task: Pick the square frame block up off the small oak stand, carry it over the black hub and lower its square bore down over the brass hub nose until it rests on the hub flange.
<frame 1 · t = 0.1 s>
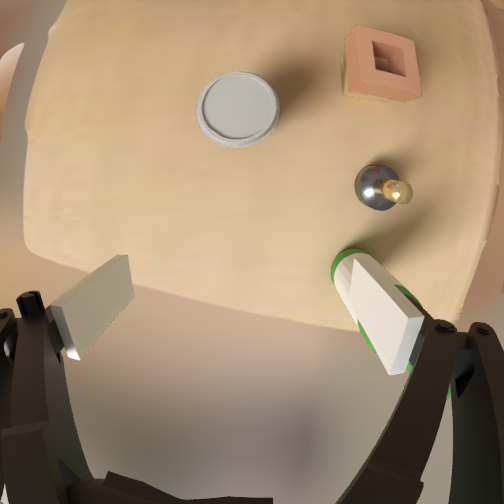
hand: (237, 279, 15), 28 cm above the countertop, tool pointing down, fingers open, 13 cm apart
wine bottle: (350, 267, 44), on the countertop
stand: (361, 80, 34), on the countertop
square frame block: (375, 69, 29), point 6 cm above the countertop, touching stand
disposable coffee cup: (243, 123, 38), on the countertop
hub: (374, 186, 40), on the countertop
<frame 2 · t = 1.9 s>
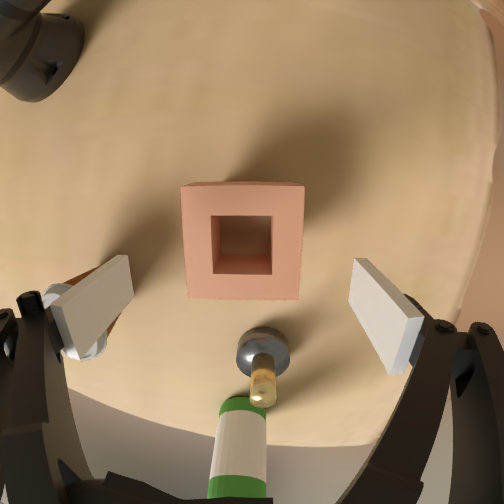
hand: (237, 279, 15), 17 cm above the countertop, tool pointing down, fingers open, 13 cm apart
wine bottle: (243, 407, 41), on the countertop
stand: (248, 218, 31), on the countertop
square frame block: (245, 230, 25), point 6 cm above the countertop, touching stand
disposable coffee cup: (113, 283, 34), on the countertop
hub: (262, 347, 36), on the countertop
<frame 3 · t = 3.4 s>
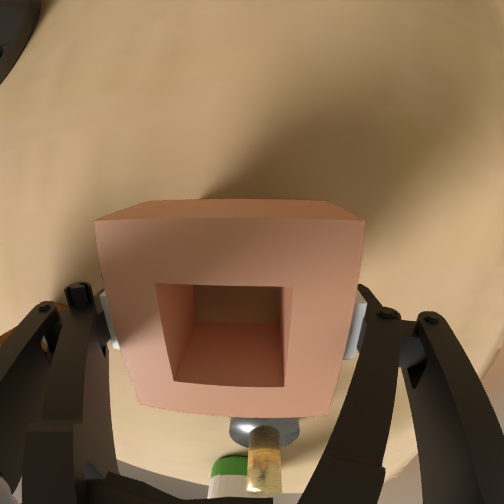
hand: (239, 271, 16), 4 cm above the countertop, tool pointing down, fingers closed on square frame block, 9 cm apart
wine bottle: (240, 463, 30), on the countertop
stand: (243, 251, 20), on the countertop
square frame block: (236, 285, 14), point 6 cm above the countertop, touching gripper, stand
hub: (264, 412, 25), on the countertop
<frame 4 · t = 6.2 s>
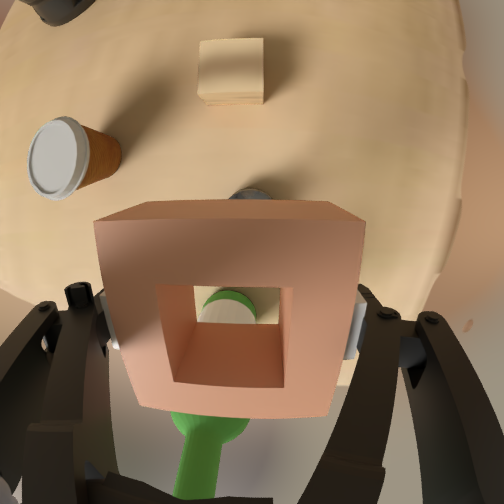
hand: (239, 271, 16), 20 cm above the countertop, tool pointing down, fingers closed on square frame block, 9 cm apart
wine bottle: (230, 310, 39), on the countertop
stand: (235, 80, 29), on the countertop
square frame block: (236, 286, 14), point 22 cm above the countertop, touching gripper
disposable coffee cup: (104, 157, 33), on the countertop
hub: (250, 215, 35), on the countertop
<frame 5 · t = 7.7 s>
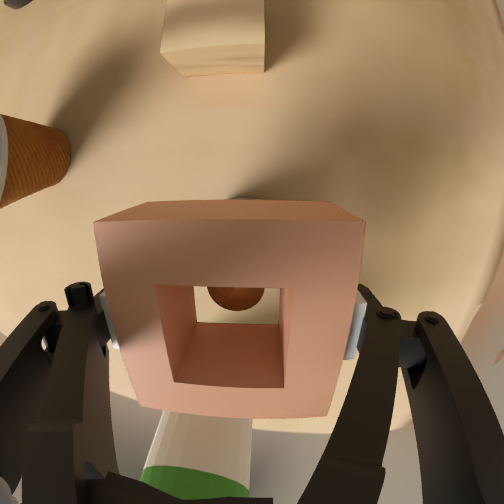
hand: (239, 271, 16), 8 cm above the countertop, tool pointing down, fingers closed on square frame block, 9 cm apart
wine bottle: (219, 360, 28), on the countertop
stand: (223, 41, 18), on the countertop
square frame block: (236, 286, 14), point 10 cm above the countertop, touching gripper
disposable coffee cup: (52, 157, 22), on the countertop
hub: (245, 237, 24), on the countertop
when the fingers open (3 cm above the countertop, at t = 9.1 s): square frame block drops 2 cm, resting on hub.
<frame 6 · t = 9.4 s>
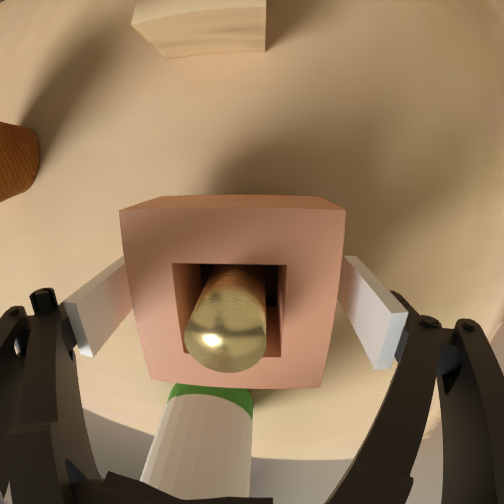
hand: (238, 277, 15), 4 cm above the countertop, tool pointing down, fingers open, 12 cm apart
wine bottle: (213, 392, 23), on the countertop
stand: (215, 16, 14), on the countertop
square frame block: (238, 271, 16), point 3 cm above the countertop, touching hub
disposable coffee cup: (22, 160, 17), on the countertop
hub: (242, 255, 19), on the countertop
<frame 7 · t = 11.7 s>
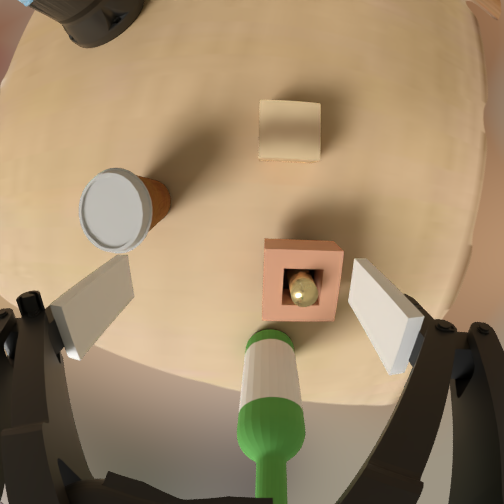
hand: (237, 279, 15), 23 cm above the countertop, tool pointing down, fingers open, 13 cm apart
wine bottle: (269, 345, 43), on the countertop
stand: (285, 136, 34), on the countertop
square frame block: (297, 272, 36), point 3 cm above the countertop, touching hub
disposable coffee cup: (151, 201, 37), on the countertop
hub: (295, 265, 39), on the countertop
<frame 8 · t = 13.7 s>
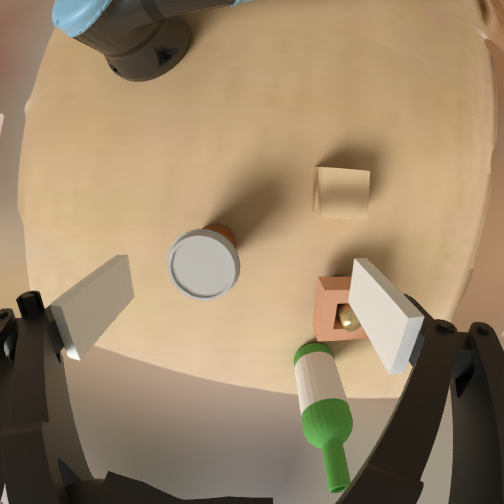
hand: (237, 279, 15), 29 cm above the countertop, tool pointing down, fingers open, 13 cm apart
wine bottle: (312, 354, 51), on the countertop
stand: (334, 190, 41), on the countertop
square frame block: (341, 301, 43), point 3 cm above the countertop, touching hub
disposable coffee cup: (216, 242, 44), on the countertop
hub: (337, 293, 46), on the countertop
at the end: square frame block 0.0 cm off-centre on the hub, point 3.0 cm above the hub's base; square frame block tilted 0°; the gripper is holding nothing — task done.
